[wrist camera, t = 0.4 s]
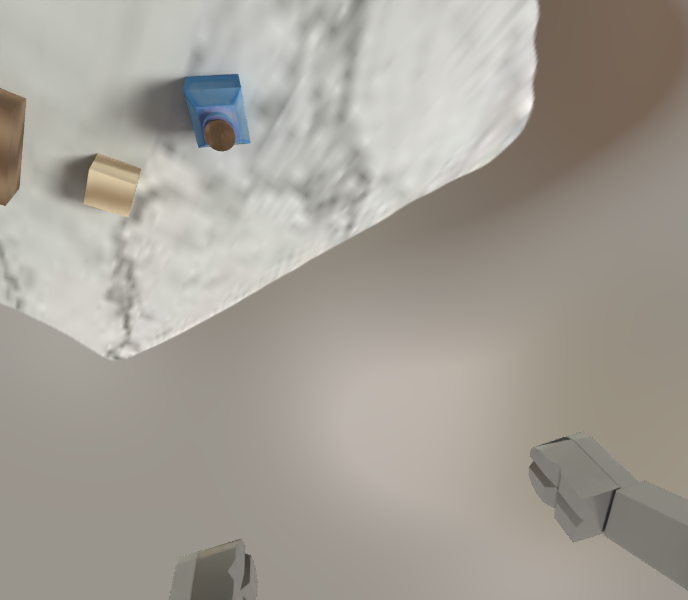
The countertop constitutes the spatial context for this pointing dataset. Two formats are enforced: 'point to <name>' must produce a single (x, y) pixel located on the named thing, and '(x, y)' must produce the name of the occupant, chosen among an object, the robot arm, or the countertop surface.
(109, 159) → the maple cube
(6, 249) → the countertop surface
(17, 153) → the walnut block
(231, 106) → the perfume bottle
